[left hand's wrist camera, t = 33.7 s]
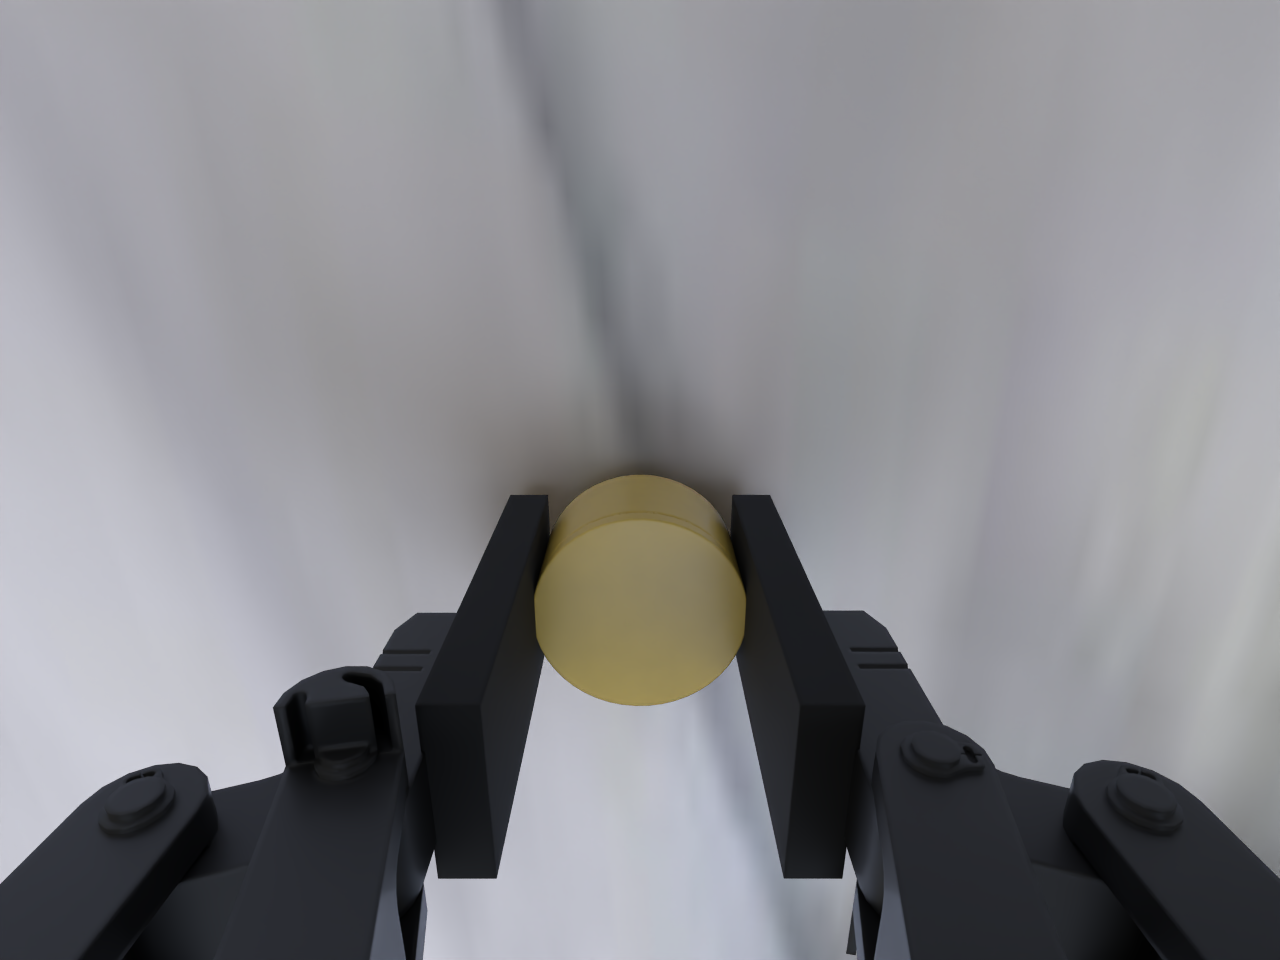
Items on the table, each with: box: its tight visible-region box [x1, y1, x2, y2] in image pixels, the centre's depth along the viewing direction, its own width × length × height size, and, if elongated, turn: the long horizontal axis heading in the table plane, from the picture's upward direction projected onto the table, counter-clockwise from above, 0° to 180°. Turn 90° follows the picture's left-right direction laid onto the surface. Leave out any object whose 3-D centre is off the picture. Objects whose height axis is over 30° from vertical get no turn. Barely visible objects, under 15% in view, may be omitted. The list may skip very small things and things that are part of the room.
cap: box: [534, 475, 746, 706], centre depth 14 cm, size 4×4×2 cm
